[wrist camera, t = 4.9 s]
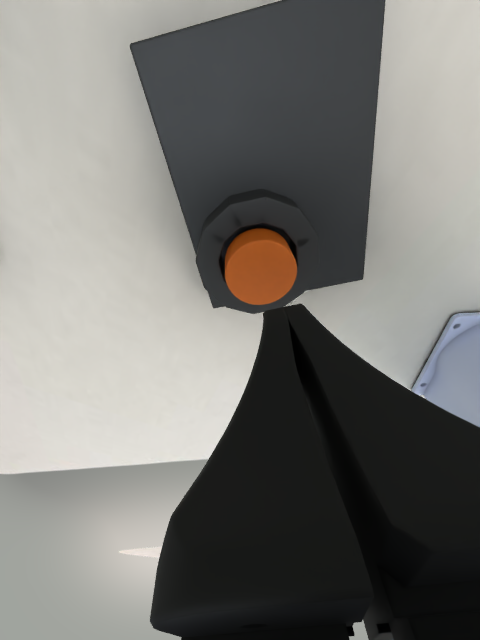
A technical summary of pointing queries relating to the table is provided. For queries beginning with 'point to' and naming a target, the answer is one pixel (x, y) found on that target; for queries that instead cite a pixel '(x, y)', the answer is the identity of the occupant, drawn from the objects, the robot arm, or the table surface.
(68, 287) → the table surface
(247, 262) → the round orange button cap
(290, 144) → the orange button switch
